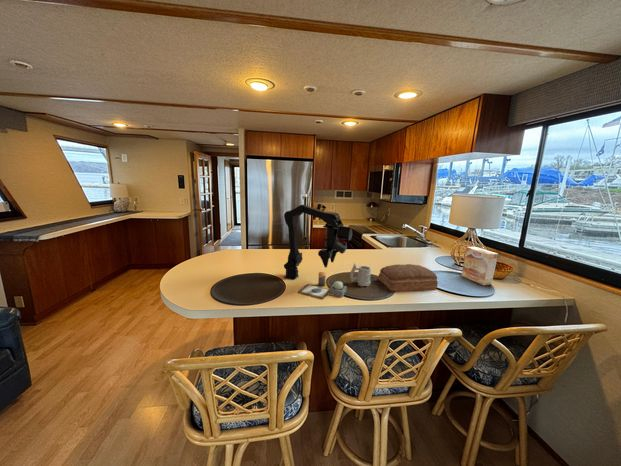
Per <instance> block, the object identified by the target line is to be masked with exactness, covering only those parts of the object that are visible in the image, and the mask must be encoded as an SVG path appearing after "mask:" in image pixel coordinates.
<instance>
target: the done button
mask: <svg viewBox="0 0 621 466" xmlns="http://www.w3.org/2000/svg"><path fill="white" fill-rule="evenodd" d="M333 284H334V289H337V290H342V288H343V286H344V283H343V282H342V281H340V280H337V281H334V283H333Z"/></svg>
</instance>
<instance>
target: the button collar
mask: <svg viewBox="0 0 621 466" xmlns="http://www.w3.org/2000/svg"><path fill="white" fill-rule="evenodd" d="M328 289H329V293H328V295H331V296H336V297H340V298H343V296H344V295H345V294H346V293H347V289H348V286H346V285H343V288H342V290H337V289H334V283H333V284H332V285H331V286H330V287H329V288H328ZM345 292H346V293H345ZM344 293H345V294H344Z"/></svg>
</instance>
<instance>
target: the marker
mask: <svg viewBox="0 0 621 466" xmlns="http://www.w3.org/2000/svg"><path fill="white" fill-rule="evenodd" d="M317 277H318V283H317V286H319V287H323V288H325V286H326V277H327V273H326V272H323V271H320V272H318V276H317Z"/></svg>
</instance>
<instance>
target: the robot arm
mask: <svg viewBox="0 0 621 466" xmlns="http://www.w3.org/2000/svg"><path fill="white" fill-rule="evenodd" d="M303 214H305V215H308V216H312V217H314V218H317V219H320V220H322V221H323V222H324V223H325V224H324V225H323V226H322V228H324V229H326V232H325V236H326V237H325V238H324V241H325V245H324V246H323V248H321V249H320V250H318V252H317V254H318V256H319V257H320V259H321V261H322V263H323V266H324V268H328V264H329V261H330V263H334V261H335V258H336V256H337V254H338V252H339V254H342V255H343V254H344V253H346V251H347V249H348V246H347V245H348V243H347V242H346V241H351V240H352V238H353V229H352V226H347V225H346V226H345V225H344V224H343V221H342V220H341V215H340V214H339V213H338V212H333V211H325V210H321V209H318V208H315V207H312V206H309V205H306V204H300V205H298V206H296V207H294V208H293V209H290V210H288V211H285V212H284V214H283V218H284V222H285V224H286V226H287V228H288V229H287V231H288V243H289V244H288V245H289V253H288V255H287V261H286V263H284V264H283V268H284V269H285V275H284V276H283V278H285V279H288V280H296V279H298V277H299V270H298V267H299V266H300V264H301V263H302V261H303V252H300V251H299V243H298V228H297V225H298V223H299V220H300V219H299V217H300V216H301V215H303ZM339 239H341V240H345V241H343V242H340V241H339Z"/></svg>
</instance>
